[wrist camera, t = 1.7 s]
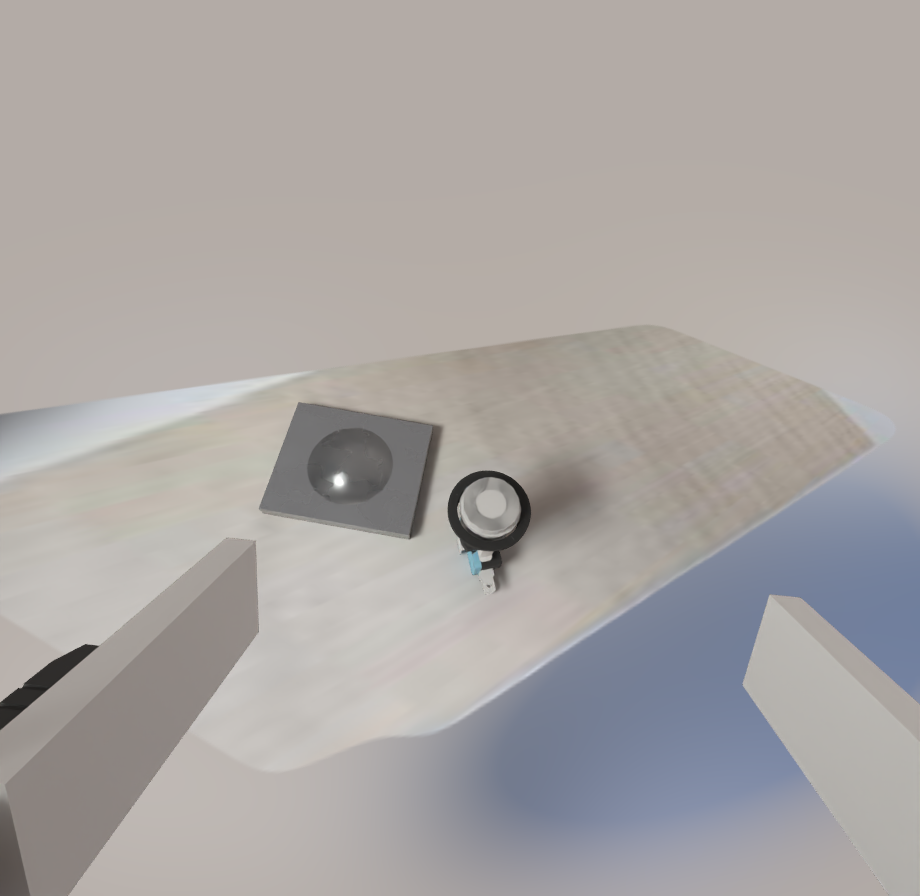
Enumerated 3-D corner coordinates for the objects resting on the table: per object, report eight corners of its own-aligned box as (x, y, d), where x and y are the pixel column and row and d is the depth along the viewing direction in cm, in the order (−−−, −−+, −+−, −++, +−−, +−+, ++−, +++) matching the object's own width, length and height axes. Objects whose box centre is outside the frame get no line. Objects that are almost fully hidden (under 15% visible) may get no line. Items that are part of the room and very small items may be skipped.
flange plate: (263, 513, 38) (258, 508, 37) (301, 409, 43) (298, 402, 42) (409, 539, 38) (408, 535, 37) (432, 432, 43) (432, 425, 42)
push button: (520, 588, 37) (550, 558, 28) (453, 602, 36) (463, 576, 27) (499, 508, 40) (521, 458, 31) (437, 519, 39) (441, 471, 30)
